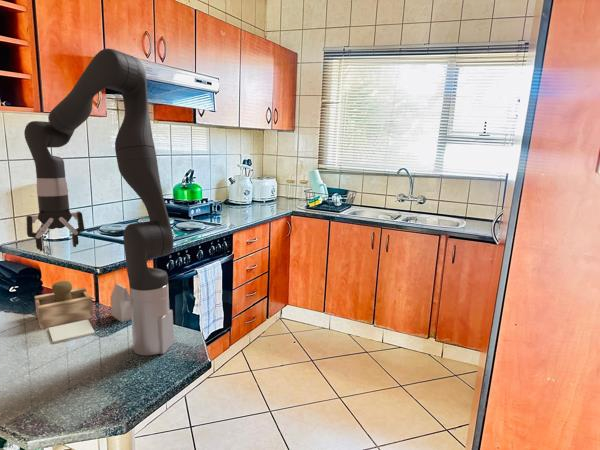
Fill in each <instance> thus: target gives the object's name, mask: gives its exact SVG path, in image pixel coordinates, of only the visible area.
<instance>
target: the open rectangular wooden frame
mask: <svg viewBox="0 0 600 450" xmlns="http://www.w3.org/2000/svg"><path fill="white" fill-rule="evenodd" d="M71 296H72V300H66V301H61V302H56V303H54V300H55V294H54V293H53V292H51V293H45V294H39V295H34V304H35V311H36V318H37V321H38V324H39V328H40V330H43V329H47V328H50V327H55V326H60V325H64V324H69V323H74V322H78V321H83V320H89V319H93V318H94V308H93V298H92V296H91V295H89V294H88V293H87V289H86V287H79V288H74V289H73V288H72V290H71Z"/></svg>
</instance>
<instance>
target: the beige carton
mask: <svg viewBox="0 0 600 450" xmlns="http://www.w3.org/2000/svg"><path fill="white" fill-rule="evenodd" d="M110 308H111V309H110V310H111V312H110V313H111V317H113V316H114V317H113V318H115V319H116V320H117V321H119V322H120V323H124V322H127V321H130V320H131V321H132V319H131V304H130V292H129V291H128V289H127V288H126V286H123V285H121V284H118V283H114V287H113V290H112V293H111V295H110Z"/></svg>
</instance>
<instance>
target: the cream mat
mask: <svg viewBox="0 0 600 450" xmlns="http://www.w3.org/2000/svg"><path fill="white" fill-rule="evenodd" d="M90 322H91V321H89V319H85V320H80V321H75V322H71V323H66V324H61V325H57V326H52V327H48V332H49V335H50V338H51V342H52V344H53V345H54V344H58V343H59V344H60V343H63V342H67V341H70V340H77V339H80V338H84V337H89V336H92V335H95V334H96V332H95V330H94V328H93V326H92V324H91V323H90Z"/></svg>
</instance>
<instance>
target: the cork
mask: <svg viewBox="0 0 600 450" xmlns="http://www.w3.org/2000/svg"><path fill="white" fill-rule="evenodd" d="M71 290H73V286H72V282H71V281H68V280H62V281H61V280H60V281H57V282H54V283H53V284H52V287H51V291H52V293H54V294H55V300H54V303H56V302H61V301H66V300H72V296H71Z"/></svg>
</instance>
